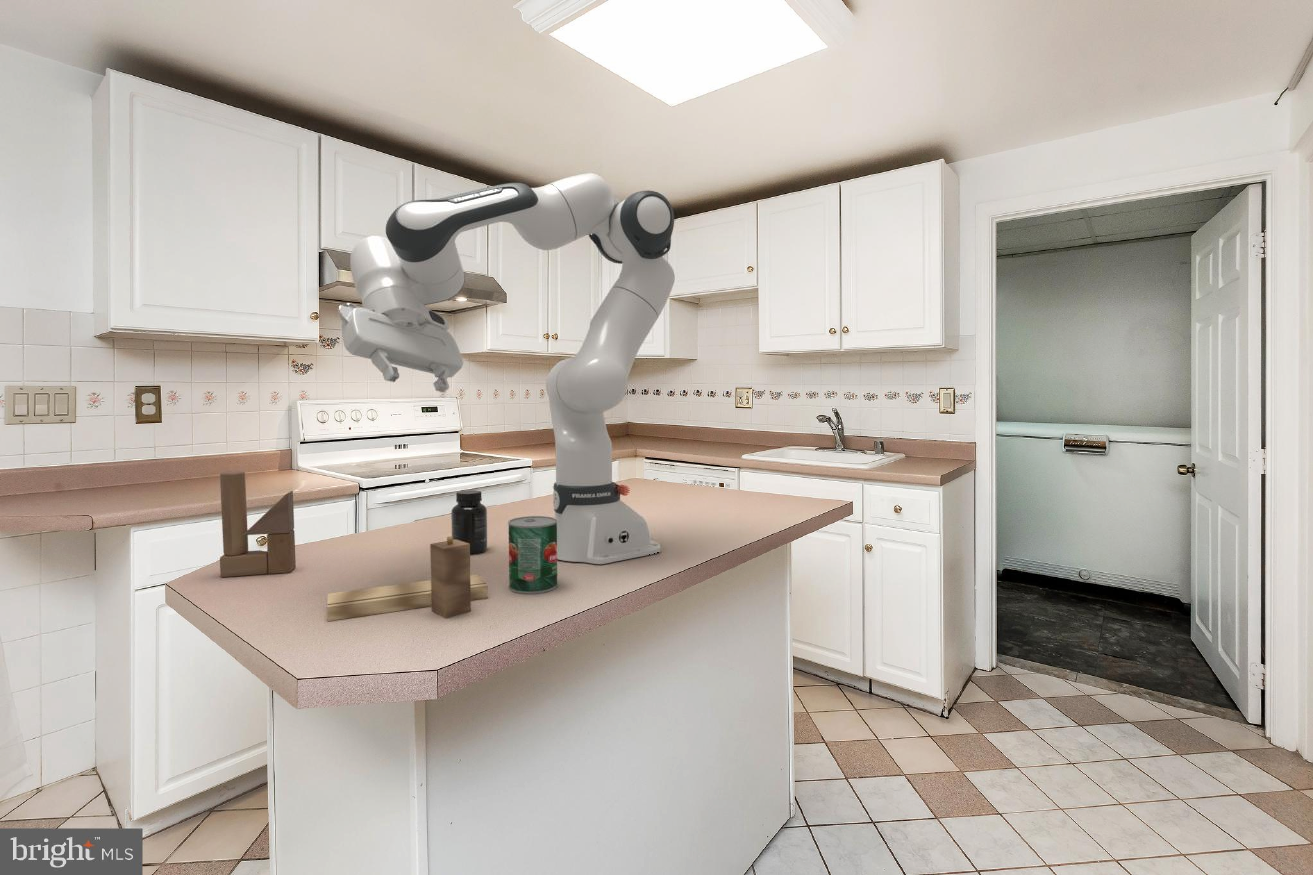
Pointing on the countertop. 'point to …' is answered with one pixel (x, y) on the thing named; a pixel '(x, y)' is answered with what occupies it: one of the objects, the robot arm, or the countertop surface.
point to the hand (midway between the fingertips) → (418, 384)
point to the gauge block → (450, 577)
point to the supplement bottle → (470, 520)
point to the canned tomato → (532, 554)
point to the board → (390, 598)
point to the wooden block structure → (254, 532)
